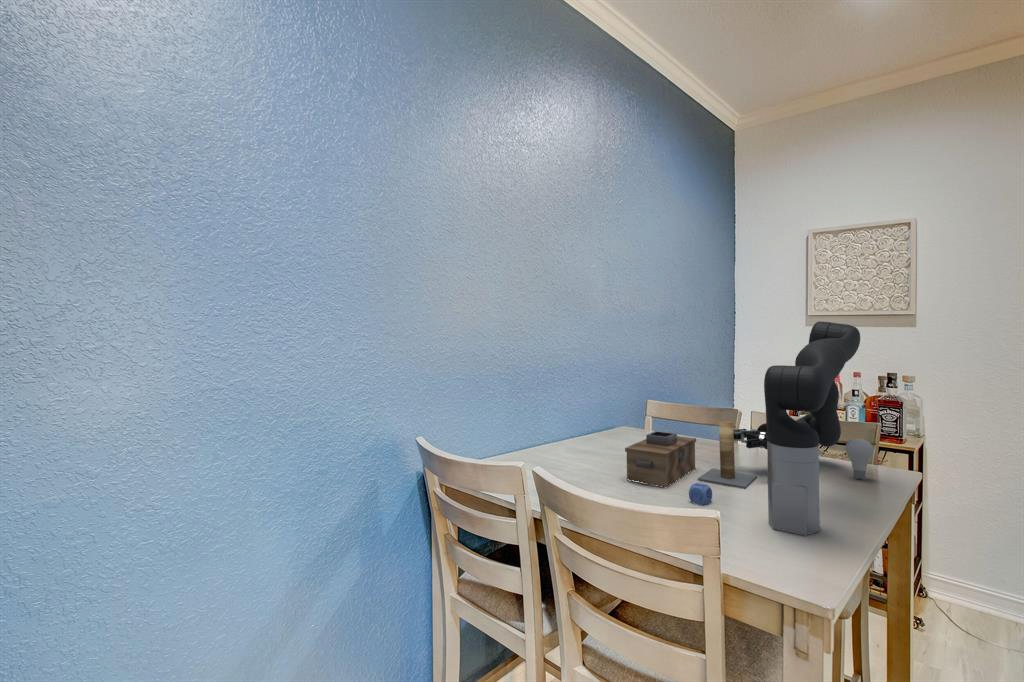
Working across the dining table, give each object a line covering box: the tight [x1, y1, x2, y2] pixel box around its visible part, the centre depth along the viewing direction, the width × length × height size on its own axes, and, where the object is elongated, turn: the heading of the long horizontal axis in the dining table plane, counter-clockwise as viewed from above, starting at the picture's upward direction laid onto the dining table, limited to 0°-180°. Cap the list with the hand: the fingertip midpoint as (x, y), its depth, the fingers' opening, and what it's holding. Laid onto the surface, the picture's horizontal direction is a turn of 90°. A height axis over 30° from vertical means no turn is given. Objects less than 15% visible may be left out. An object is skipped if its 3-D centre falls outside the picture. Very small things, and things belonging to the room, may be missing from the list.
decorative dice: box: [688, 482, 713, 506], centre depth 115 cm, size 4×4×4 cm
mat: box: [697, 467, 758, 490], centre depth 132 cm, size 12×12×1 cm
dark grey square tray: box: [645, 430, 678, 447], centre depth 138 cm, size 6×6×2 cm
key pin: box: [718, 420, 736, 479], centre depth 132 cm, size 4×4×15 cm
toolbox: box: [624, 435, 697, 488], centre depth 138 cm, size 25×12×9 cm, turn 140°
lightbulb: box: [844, 437, 874, 480], centre depth 129 cm, size 6×6×11 cm
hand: (734, 441), depth 133 cm, fingers open, 8 cm apart
